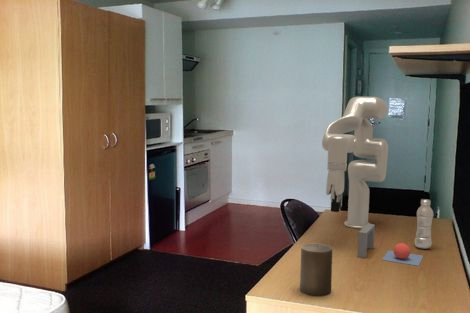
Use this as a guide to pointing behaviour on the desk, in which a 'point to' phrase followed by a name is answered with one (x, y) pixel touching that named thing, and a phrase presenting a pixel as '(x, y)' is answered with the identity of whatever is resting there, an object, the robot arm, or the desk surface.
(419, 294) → the desk surface
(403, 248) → the ball
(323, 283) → the pillar candle
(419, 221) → the plastic bottle
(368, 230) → the bridge
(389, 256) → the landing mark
